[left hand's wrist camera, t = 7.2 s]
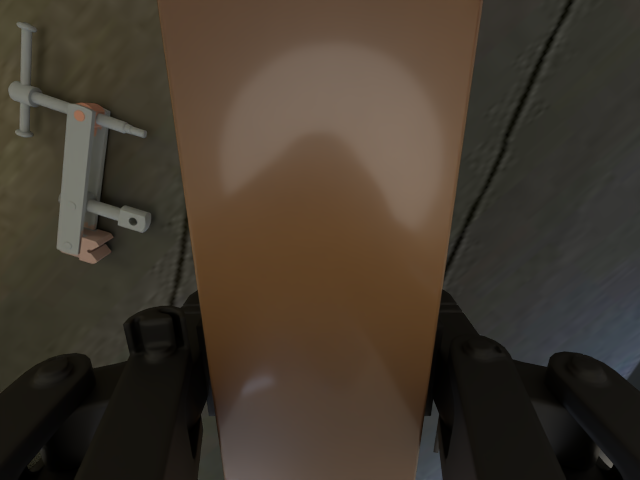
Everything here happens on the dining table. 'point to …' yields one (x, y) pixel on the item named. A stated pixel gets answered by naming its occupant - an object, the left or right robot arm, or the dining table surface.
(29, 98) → the clamp
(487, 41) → the dining table surface
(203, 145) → the bar
